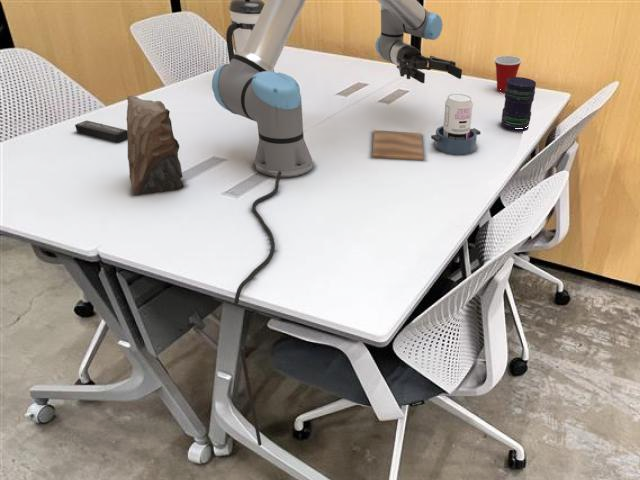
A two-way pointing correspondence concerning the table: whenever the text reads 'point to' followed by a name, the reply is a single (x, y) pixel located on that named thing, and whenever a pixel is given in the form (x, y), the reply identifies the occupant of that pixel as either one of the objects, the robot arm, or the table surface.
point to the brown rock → (151, 148)
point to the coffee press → (242, 23)
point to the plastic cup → (506, 70)
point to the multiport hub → (102, 131)
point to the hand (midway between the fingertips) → (442, 76)
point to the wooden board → (397, 145)
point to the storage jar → (518, 103)
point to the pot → (455, 142)
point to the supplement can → (457, 116)
